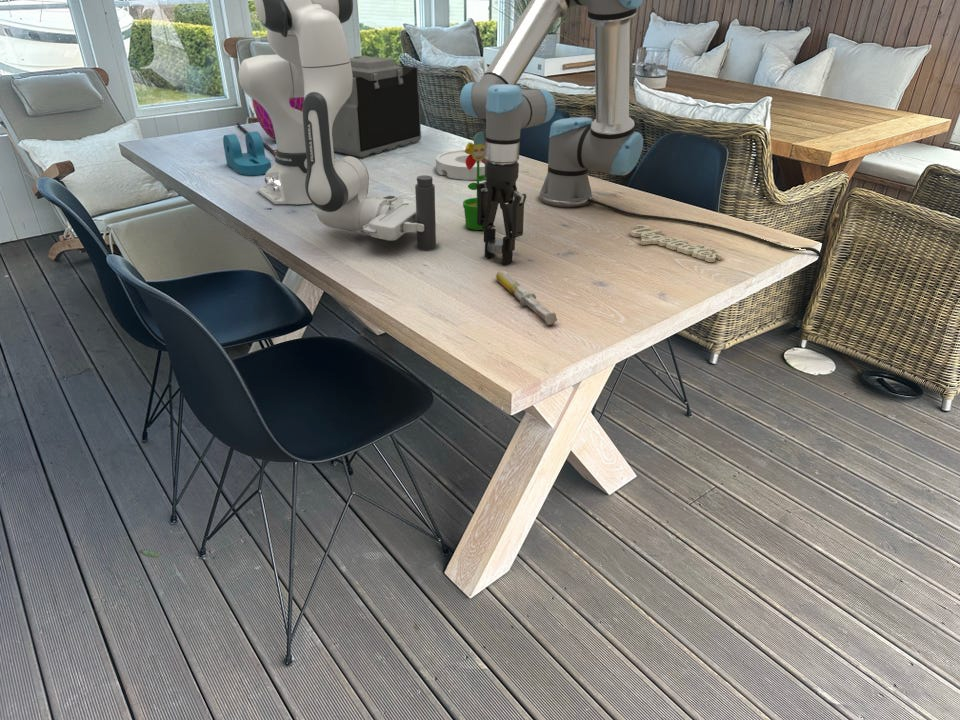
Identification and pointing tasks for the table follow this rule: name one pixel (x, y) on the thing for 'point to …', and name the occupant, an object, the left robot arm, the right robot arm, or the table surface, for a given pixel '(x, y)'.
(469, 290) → the table surface
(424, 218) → the bottle
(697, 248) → the decorative sign
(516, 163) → the right robot arm
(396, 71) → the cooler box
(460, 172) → the ashtray
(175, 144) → the table surface
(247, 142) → the camera mount
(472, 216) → the potted flower
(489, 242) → the lid
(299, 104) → the decorative egg
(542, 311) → the syringe
